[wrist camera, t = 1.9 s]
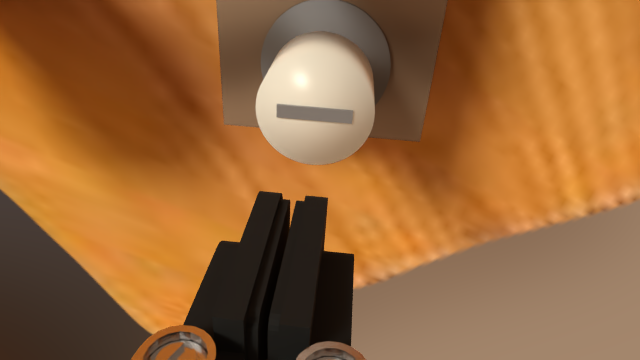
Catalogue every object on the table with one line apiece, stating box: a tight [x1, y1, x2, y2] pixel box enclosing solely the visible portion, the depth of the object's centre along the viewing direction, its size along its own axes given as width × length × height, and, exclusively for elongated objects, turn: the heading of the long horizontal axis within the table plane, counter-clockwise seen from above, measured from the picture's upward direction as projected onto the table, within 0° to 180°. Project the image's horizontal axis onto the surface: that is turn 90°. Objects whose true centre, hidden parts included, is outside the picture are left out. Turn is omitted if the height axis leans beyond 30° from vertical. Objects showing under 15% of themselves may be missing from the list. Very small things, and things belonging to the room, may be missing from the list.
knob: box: [256, 31, 375, 165], centre depth 18 cm, size 4×4×3 cm
